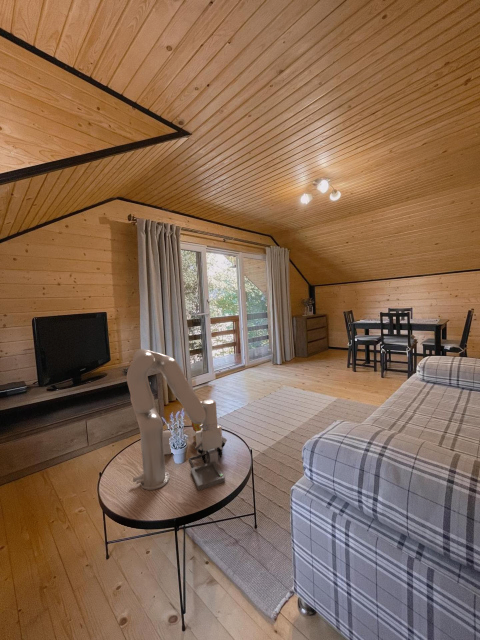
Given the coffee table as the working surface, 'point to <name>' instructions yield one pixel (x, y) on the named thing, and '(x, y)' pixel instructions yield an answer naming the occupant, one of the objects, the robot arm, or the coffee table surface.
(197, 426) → the toy lion
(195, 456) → the dark piece
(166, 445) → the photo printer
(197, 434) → the plate
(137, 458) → the coffee table surface
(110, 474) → the coffee table surface
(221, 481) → the charging cradle
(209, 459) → the grey rectangular block
